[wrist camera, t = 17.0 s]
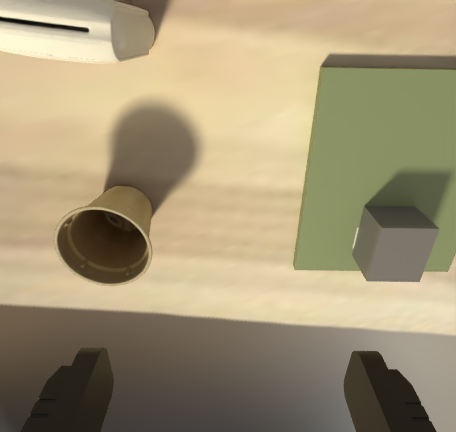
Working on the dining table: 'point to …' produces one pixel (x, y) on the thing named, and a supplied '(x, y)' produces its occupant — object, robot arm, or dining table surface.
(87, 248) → the flower pot
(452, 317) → the dining table surface
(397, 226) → the block
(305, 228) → the board
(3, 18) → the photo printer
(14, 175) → the dining table surface
